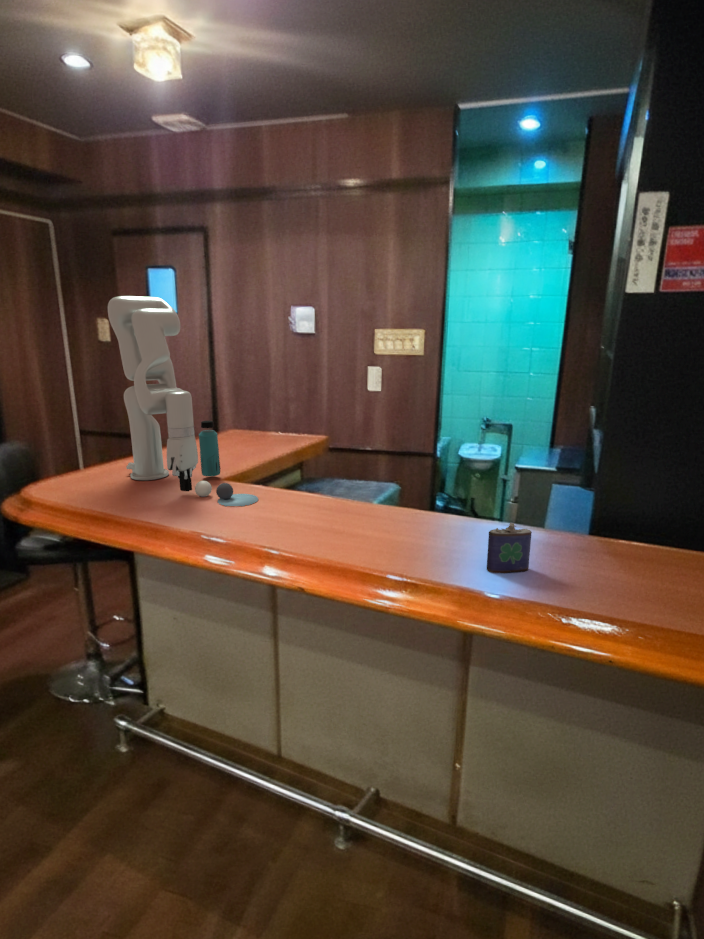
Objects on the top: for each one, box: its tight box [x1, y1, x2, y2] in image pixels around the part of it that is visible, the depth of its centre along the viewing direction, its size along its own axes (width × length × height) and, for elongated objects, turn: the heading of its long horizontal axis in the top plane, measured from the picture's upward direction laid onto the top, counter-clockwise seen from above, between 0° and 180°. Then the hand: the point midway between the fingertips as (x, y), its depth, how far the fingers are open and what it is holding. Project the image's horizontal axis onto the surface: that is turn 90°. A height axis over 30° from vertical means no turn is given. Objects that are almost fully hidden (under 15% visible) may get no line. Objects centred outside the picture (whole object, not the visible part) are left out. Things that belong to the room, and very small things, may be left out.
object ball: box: [215, 482, 234, 499], centre depth 162 cm, size 5×5×5 cm
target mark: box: [217, 493, 259, 507], centre depth 161 cm, size 12×12×1 cm
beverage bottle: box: [198, 420, 221, 477], centre depth 182 cm, size 6×7×20 cm
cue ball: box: [194, 480, 213, 498], centre depth 164 cm, size 5×5×5 cm
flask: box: [486, 522, 532, 574], centre depth 114 cm, size 9×3×11 cm, turn 95°
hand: (186, 490), depth 166 cm, fingers closed
